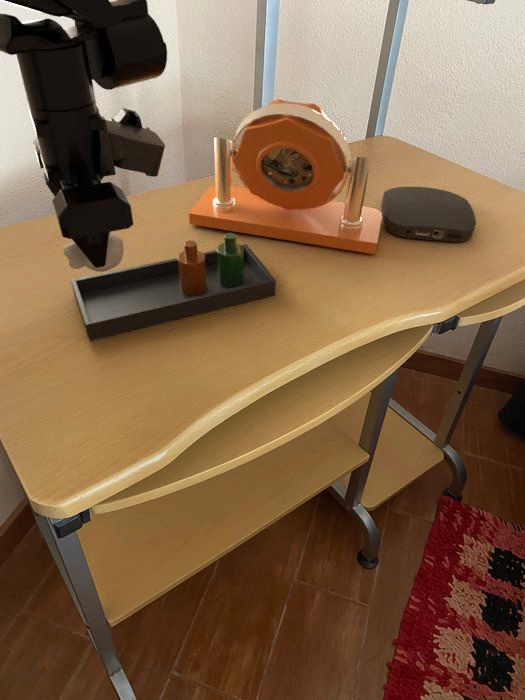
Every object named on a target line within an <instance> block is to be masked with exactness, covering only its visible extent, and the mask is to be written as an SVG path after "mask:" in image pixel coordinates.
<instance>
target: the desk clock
mask: <svg viewBox="0 0 525 700" xmlns="http://www.w3.org/2000/svg"><path fill="white" fill-rule="evenodd" d="M242 131H243V132H242ZM241 133H242V136H241V138H240V143H239V145H238V139H239V136H240V134H241ZM347 140H348V139H347V138H346V137H345V134H344V131H343V130H342V129H341V128H339V126H337V125H336V124H335V123H334V122H333V120H331V119H330V118H329V116H328V115H327V114H326V113H325V111H323V109H322V108H321V106H319V105H317V104H315V103H314V102H313V103H312V102H311V103H308V102H307V103H303V102H296V101H295V102H294V101H288V100H283V99H280V98H279V99H275V100H274V99H273V100H271V102H270V103H269V104H268V105H265V106H261V107H259V108H258V109H256V110H252V111H251V113H249V114H248V115H247V116H246V117H244V118H243V120H242V121H241V122H240V124H239V125H238V127H237V130H236V131H235V135H234V138H233V141H232V140H229V139H226V138H222V137H214V138H213V142H214V143H213V144H214V145H213V146H214V147H213V148H214V180H215V181H214V184H215V185H212V186H210V187H208V188H207V189H206V191H204V193H203V194H202V196H201V197H200V198H199V199H198V201H197V202H196V203H195V205H194V206H193V207H192V209H191V210H190V211H189V212H188V220H189V225H193V226H201V227H204V228H212V229H218V230H224V231H229V232H236V233H242V234H249V235H254V236H261V237H265V238H266V237H267V238H273V239H278V240H285V241H291V242H298V243H303V244H308V245H315V246H320V247H321V246H322V247H328V248H333V249H341V250H345V251H346V250H347V251H351V252H359V253H364V254H371V255H376V251H377V246H378V241H379V236H380V232H381V231H380V230H381V224H382V221H383V216H382V211H380V210H378V209H376V208H373V207H369V206H366V205H364V200H365V196H366V191H367V185H368V178H369V173H370V167H371V162H372V160H371V159H370V158H367V157H362V156H352V155H351V148H350V147H349V144H348V141H347ZM233 170H234V172H235V174H236V176H237V178H238V179H239V180H240V182H241V184H242V185H243V186H244V187H241V186H236V185H235V186H234V185H233ZM347 180H348V182H347ZM346 183H347V189H346V195H345V201H344V202H341V201H335V200H334V199H336V198H337V197H338V196H339V194H341V193H342V191H343V189H344V187H345V185H346Z"/></svg>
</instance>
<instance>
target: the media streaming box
mask: <svg viewBox="0 0 525 700" xmlns="http://www.w3.org/2000/svg"><path fill="white" fill-rule="evenodd" d="M381 213H382V221H383V225H384V228H385V229H386V230H387V231H388V232H389V233H391V234H393V235H395V236H397V237H402V238H408V239H418V240H427V241H440V242H441V241H442V242H457V243H460V242H466V241H468V240H470V239H471V238H472V237H473V234H474V231H475V228H476V225H477V221H476V216H475V212H474V209H473V207H472V205H471V203H470V202H469V201H468V200H467V199H466V198H465V197H463V196H461V195H459V194H457V193H454V192H452V191H448V190H444V189H441V188H440V189H439V188H433V187H427V186H398V187H392V188H389V189H386V190H385V191H384V192H383V195H382V200H381Z"/></svg>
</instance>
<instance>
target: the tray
mask: <svg viewBox="0 0 525 700" xmlns="http://www.w3.org/2000/svg"><path fill="white" fill-rule="evenodd" d="M240 245H241V246H242V247H243V248H244V264H243V282H242V283H241V284H240V285H238V286H236V287H226V286H223V285H221V284H220V283H219V282H218V274H217V249H214V250H210V251H205V252H202V253H203V254H204V255H205V265H206V291H205V292H204V293H202V294H200V295H197V296H189V295H185V294H183V293H182V292H181V290H180V282H179V270H178V257H177V258H175V257H174V258H170V259H166V260H161V261H156V262H155V261H154V262H151V263H145V264H141V265H136V266H132V267H131V266H130V267H126V268H122V269H117V270H112V271H111V270H110V271H105V272H100V273H96V274H92V275H87V276H82V277H78V278H77V277H76V278H72V279H70V284H71V287H72V292H73V296H74V298H75V301H76V304H77V308H78V311H79V314H80V317H81V320H82V322H83V323H82V324H83V326H84V329H85V332H86V335H87V338H88V341H89V342H91V341H95V340H98V339H103V338H107V337H111V336H116V335H119V334H124V333H127V332H131V331H135V330H140V329H143V328H147V327H152V326H156V325H160V324H164V323H168V322H172V321H177V320H180V319H184V318H189V317H192V316H193V317H194V316H196V315H201V314H205V313H210V312H214V311H217V310H221V309H225V308H230V307H234V306H237V305H241V304H247V303H250V302H254V301H259V300H261V299H262V300H263V299H267V298H270V297H274V296H276V291H277V280H276V278H275V277H274V276H273V275H272V273H271V272H270V271H269V270H268V268H266V266H265V265H264V264H263V262H261V260H260V259H259V257H258V256H257V255H256V254H255V253H254V251H253V250H252V249H251V247H249V245H248V244H247V243H244V244H240Z"/></svg>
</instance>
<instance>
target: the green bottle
mask: <svg viewBox="0 0 525 700" xmlns="http://www.w3.org/2000/svg"><path fill="white" fill-rule="evenodd" d="M241 245H242V244H240V243H237V235H236V234H235V233H234V232H227V233H225V234H224V235H223V243H220V244H219V245H218V246H217V248H216V250H217V274H218V282H219V283H220V284H221V285H223V286H226V287H236V286H238V285H240V284H241V283H242V282H243V264H244V248H243V247H242V246H241Z"/></svg>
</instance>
